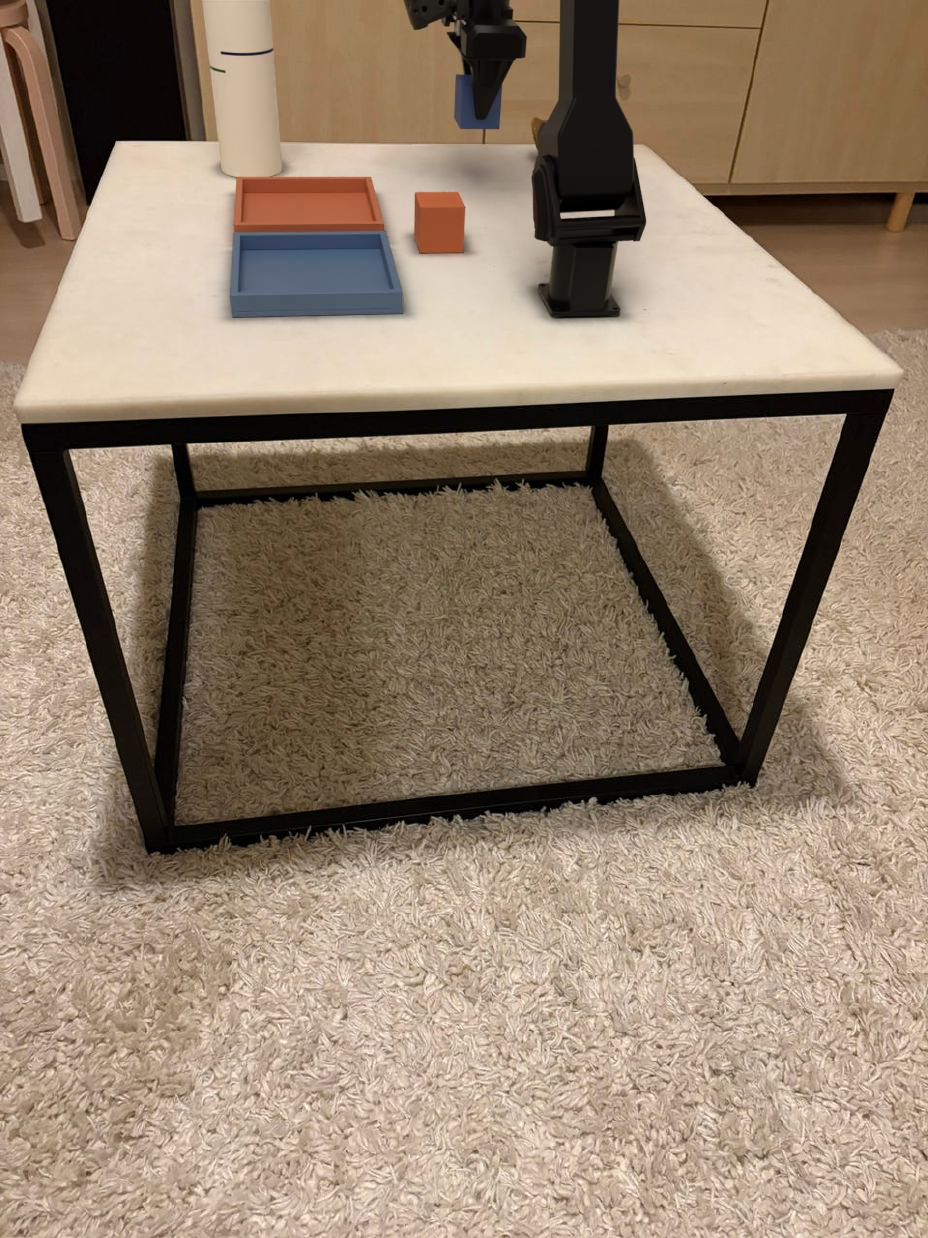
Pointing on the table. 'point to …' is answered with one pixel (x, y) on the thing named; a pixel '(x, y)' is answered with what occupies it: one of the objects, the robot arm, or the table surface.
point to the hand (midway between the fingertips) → (477, 113)
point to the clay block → (439, 222)
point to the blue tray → (313, 274)
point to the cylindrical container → (244, 86)
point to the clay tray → (306, 204)
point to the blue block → (465, 106)
